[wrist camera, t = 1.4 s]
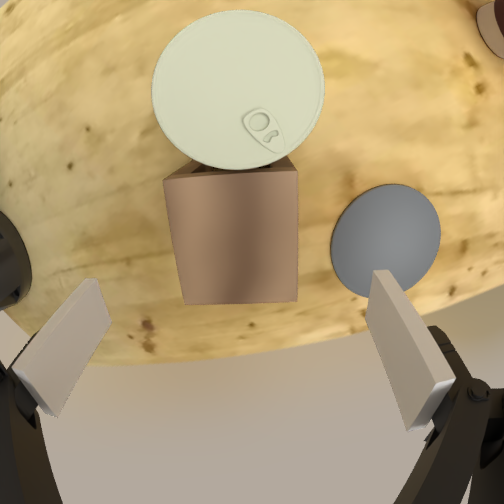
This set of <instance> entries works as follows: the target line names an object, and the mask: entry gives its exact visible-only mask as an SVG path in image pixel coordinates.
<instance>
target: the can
mask: <svg viewBox="0 0 504 504" xmlns="http://www.w3.org/2000/svg"><path fill="white" fill-rule="evenodd" d="M324 95H325V81H324V74H323V70H322V67H321V64H320V61H319V58H318V56H317V54H316V52H315V51H314V49H313V48H312V46H311V45H310V43H309V42H308V41H307V40H306V38H305V37H304V36H303V35H302V34H301V33H300V32H299V31H298V30H296V29H295V28H294V27H292V26H291V25H289V24H288V23H286V22H285V21H283V20H281V19H279V18H277V17H274V16H272V15H269V14H266V13H262V12H258V11H251V10H229V11H222V12H218V13H214V14H210V15H208V16H205V17H203V18H200V19H198V20H196V21H195V22H193V23H191V24H189V25H188V26H187V27H185V28H184V29H183V30H181V31H180V32H179V33H178V34H177V35H176V36H175V37H174V38H173V39H172V40H171V41H170V42H169V44H168V45H167V46H166V48H165V49H164V51H163V52H162V54H161V56H160V58H159V60H158V62H157V64H156V67H155V70H154V74H153V79H152V87H151V96H152V104H153V109H154V113H155V116H156V119H157V121H158V123H159V125H160V127H161V129H162V131H163V132H164V134H165V135H166V137H167V138H168V139H169V140H170V141H171V142H172V143H173V144H174V145H175V146H176V147H177V148H178V149H179V150H180V151H181V152H183V153H184V154H186V155H187V156H189V157H190V158H192V159H194V160H196V161H198V162H200V163H203V164H205V165H208V166H212V167H216V168H221V169H230V170H243V169H251V168H257V167H260V166H264V165H267V164H270V163H272V162H275V161H277V160H279V159H281V158H283V157H284V156H286V155H288V154H289V153H290V152H292V151H293V150H294V149H296V148H297V147H298V146H299V145H300V144H301V143H302V142H303V141H304V140H305V139H306V138H307V136H308V135H309V134H310V132H311V131H312V129H313V128H314V126H315V124H316V122H317V120H318V118H319V116H320V113H321V110H322V106H323V102H324Z"/></svg>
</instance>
